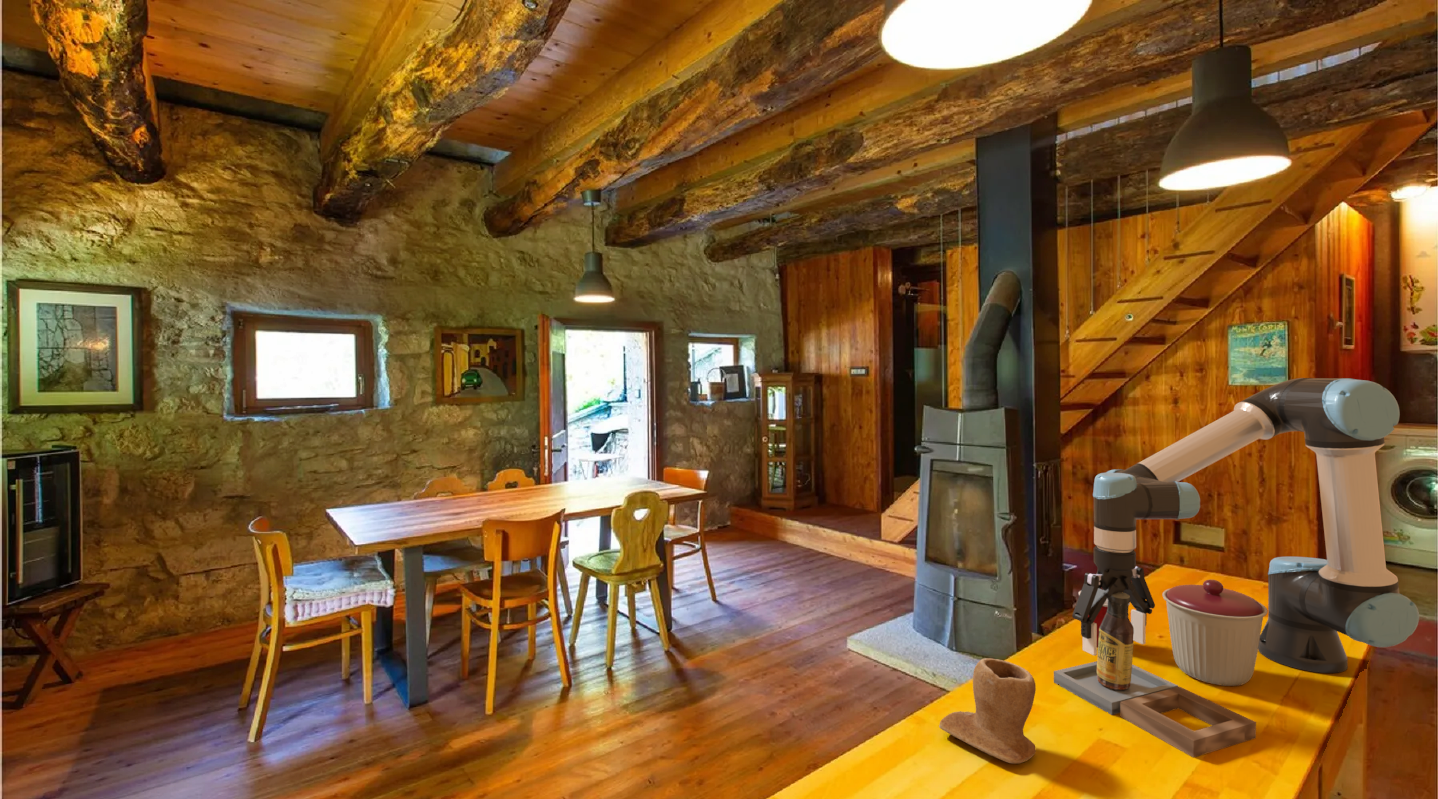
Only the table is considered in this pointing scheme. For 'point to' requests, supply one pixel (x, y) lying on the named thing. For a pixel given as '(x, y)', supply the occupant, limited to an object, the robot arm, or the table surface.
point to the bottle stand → (1194, 743)
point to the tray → (1089, 688)
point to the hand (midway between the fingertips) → (1114, 647)
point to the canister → (1214, 632)
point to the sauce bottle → (1115, 644)
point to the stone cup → (997, 712)
